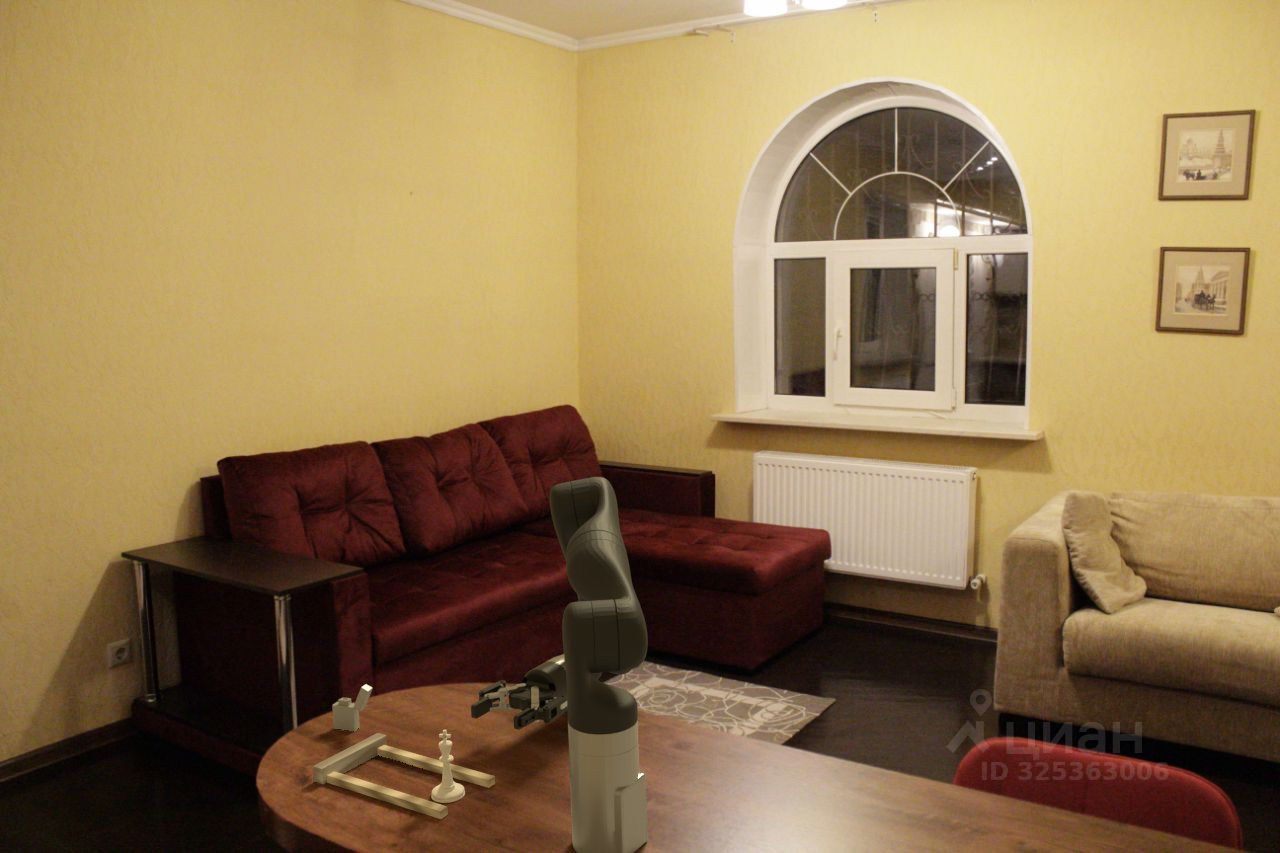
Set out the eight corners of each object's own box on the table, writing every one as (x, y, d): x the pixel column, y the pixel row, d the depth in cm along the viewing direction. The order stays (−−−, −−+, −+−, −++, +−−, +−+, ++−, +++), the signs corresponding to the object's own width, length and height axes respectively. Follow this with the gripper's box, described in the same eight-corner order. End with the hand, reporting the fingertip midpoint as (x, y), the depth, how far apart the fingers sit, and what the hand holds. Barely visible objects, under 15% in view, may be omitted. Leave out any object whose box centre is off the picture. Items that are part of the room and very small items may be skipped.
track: (498, 781, 158) (497, 766, 158) (437, 821, 147) (436, 804, 147) (378, 747, 171) (377, 732, 171) (313, 781, 160) (312, 766, 160)
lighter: (333, 729, 179) (330, 684, 178) (339, 725, 181) (335, 680, 180) (370, 733, 177) (367, 687, 176) (375, 729, 179) (372, 684, 178)
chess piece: (457, 804, 152) (454, 738, 151) (425, 801, 153) (422, 736, 152) (470, 788, 157) (466, 724, 155) (438, 785, 158) (435, 722, 156)
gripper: (520, 653, 180) (457, 686, 167) (589, 668, 173) (529, 704, 159) (522, 695, 181) (460, 731, 168) (591, 711, 174) (531, 750, 160)
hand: (494, 718), depth 163 cm, fingers open, 8 cm apart
